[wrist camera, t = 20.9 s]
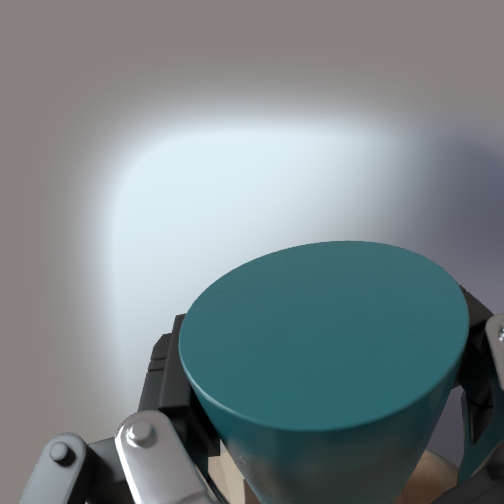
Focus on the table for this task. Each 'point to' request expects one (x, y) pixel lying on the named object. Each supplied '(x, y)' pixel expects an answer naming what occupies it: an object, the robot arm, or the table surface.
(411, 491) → the table surface
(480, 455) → the robot arm
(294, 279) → the cylinder
